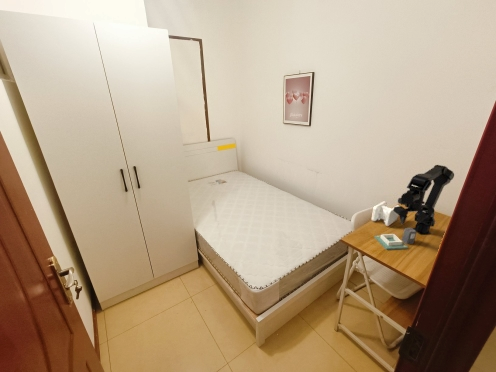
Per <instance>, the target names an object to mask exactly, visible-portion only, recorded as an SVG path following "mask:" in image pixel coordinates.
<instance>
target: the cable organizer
mask: <svg viewBox="0 0 496 372" xmlns="http://www.w3.org/2000/svg"><path fill="white" fill-rule="evenodd" d="M387 205H388V202H387V201H384V200H383V201H381V202H379V203H377V205H374V206H373V207H372V214H371V221H372V222H376V221H380V220H383V223H384V225H385V226H387V227H389V226H390V225H392V224H393V223H394V222H396V221H397V220H398V218H399V215H398V214H397V213H395V212H394V211H393V210H394V207H399V206H400V205H399V204H397V205H395V206H393V207H392V208H391V207H389V206H387Z"/></svg>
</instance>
